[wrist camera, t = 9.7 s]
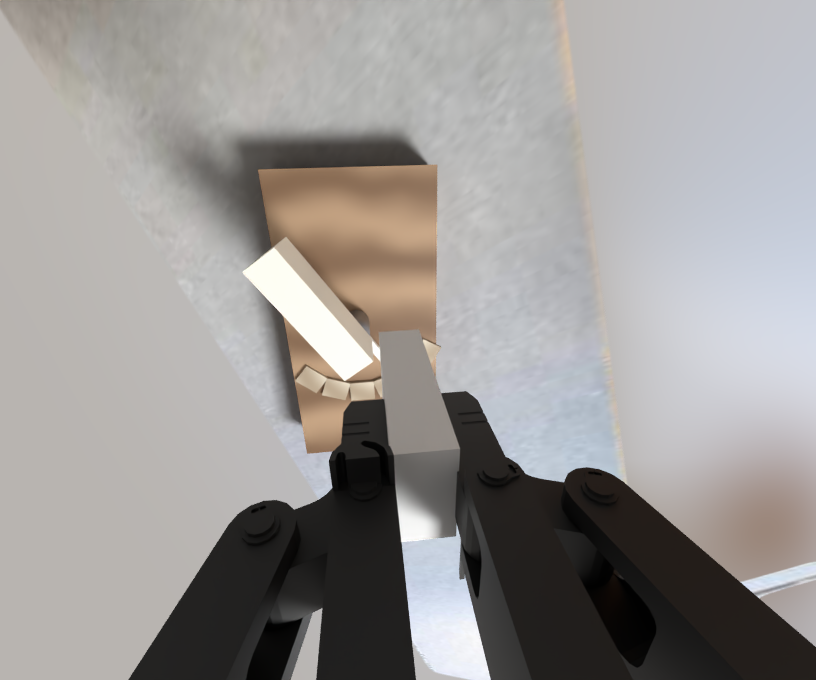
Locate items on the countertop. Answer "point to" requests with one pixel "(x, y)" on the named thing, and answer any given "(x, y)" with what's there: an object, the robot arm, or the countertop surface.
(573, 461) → the countertop surface
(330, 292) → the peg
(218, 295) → the countertop surface
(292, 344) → the board
